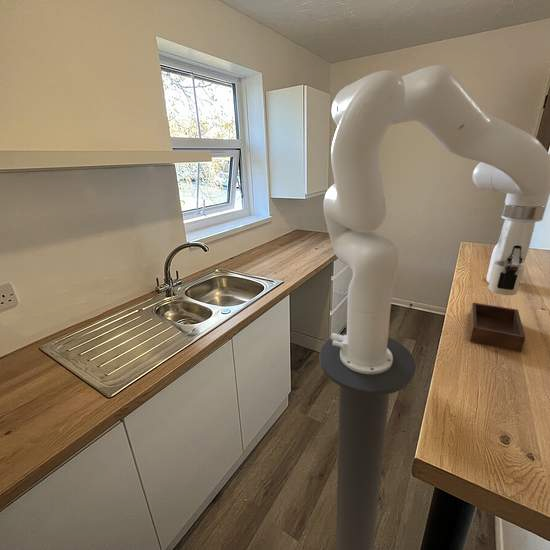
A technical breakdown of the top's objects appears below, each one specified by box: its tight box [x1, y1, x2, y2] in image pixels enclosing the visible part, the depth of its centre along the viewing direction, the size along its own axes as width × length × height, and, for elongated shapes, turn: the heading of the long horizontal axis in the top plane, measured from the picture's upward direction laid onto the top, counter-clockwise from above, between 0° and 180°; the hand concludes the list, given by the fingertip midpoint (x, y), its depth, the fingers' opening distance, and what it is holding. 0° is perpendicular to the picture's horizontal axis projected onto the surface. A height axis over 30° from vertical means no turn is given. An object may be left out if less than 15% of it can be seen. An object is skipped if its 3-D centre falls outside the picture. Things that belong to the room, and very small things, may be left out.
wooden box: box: [469, 302, 526, 353], centre depth 81 cm, size 11×15×4 cm
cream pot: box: [487, 261, 525, 296], centre depth 75 cm, size 6×6×7 cm
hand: (503, 282), depth 76 cm, fingers closed on cream pot, 6 cm apart
